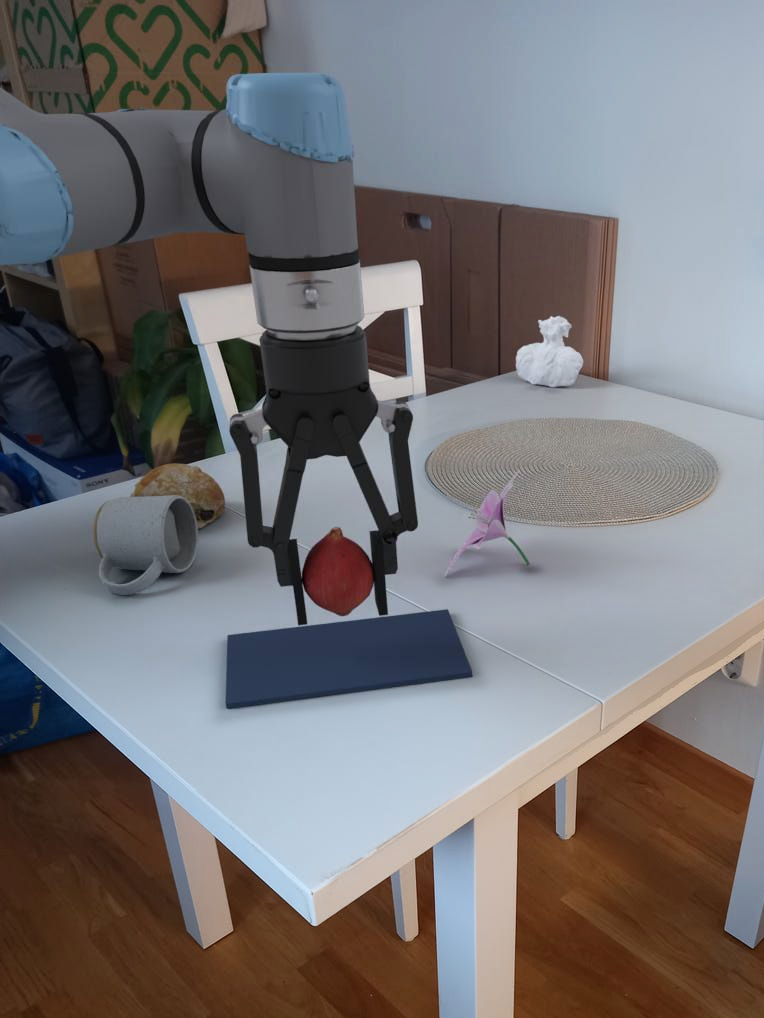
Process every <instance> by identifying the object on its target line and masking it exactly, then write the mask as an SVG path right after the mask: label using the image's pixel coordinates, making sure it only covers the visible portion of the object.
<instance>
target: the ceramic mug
mask: <svg viewBox="0 0 764 1018" xmlns="http://www.w3.org/2000/svg"><path fill="white" fill-rule="evenodd" d="M92 525H93V526H92V537H93V538H92V539H93V543H94V546H95V550H96V552H97V554H98V556H99V557H100V558H101V560H100V563H99V566H98V576H99V578H100V581H101V583H102V584H103V585H104V586H105V588H106V589H107V590H108V591H109V592H111V593H113V594H115V595H118V596H133V595H136V594H139V593H141V592H144V591H145V590H148V588H150V586H152V585H153V584H154V583H155V582H156V580H157V579H158V578H159V577H160V575H161V574H162V573H167V574H168V573H169V574H181V573H184V572H186V571H188V570H189V568H191V566H192V565H193V563H194V560H195V559H196V556H197V551H198V545H199V529H197V521H196V517H195V514H194V511H193V509H192V507H191V505H190V503H189V502H188V501H187V500H186V499H185V498H184V497H182V496H179V495H168V496H147V497H130V496H123V497H117V498H113V499H109V500H107V501H105V502H104V503H102V504H101V506H100V507H99V509H98V510H97V512H96V514H95V517H94V520H93V524H92ZM112 567H114V568H117V569H122V570H129V571H131V570H132V571H144V572H143V574H141V575H140V576H139V577H137V578H136V579H133V580H132V581H129V582H127V583H121V584H120V583H118V584H117V583H116V582H114V581H110V579H109V576H110V572H111V570H112Z"/></svg>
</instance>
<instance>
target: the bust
mask: <svg viewBox="0 0 764 1018" xmlns="http://www.w3.org/2000/svg"><path fill="white" fill-rule="evenodd" d="M537 323H538V328H539V329H540V330H539V332H540V333H541V335H542V337H543V341H542V342H534V343H529V344H526V345H523V346H522V347H520V348H519V349H518V350H517V352H516V356H515V370H516V373H517V375H518V377H519V378H520V379H521V380H524V381H526V382H528V383H530V384H531V385H541V386H548V387H550V388H557V387H571V386H573V385H574V384H575V382H576V380H577V377H578V375H579V373H580V371H581V369H582V368H583V366H584V359H583V357H582V354H581V353H580V352H578V351H576V350H575V348H573V347H571V346H566V345H565V342H564V339H563V337H565V338H569V332H570V329H572V327H573V326H572V324H571V323H570V322H569V321H568V320H567V318H565V317H563V316H561V315H556V316H555V317H554V316H552V315H551V316H549V318H548V319H544V320H542V319H538V321H537Z"/></svg>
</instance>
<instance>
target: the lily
mask: <svg viewBox="0 0 764 1018" xmlns="http://www.w3.org/2000/svg"><path fill="white" fill-rule="evenodd" d="M520 471H521V469H519V470H518V471H517V472H516V473H515V474H514V475H513V476H512V478H511V479H510V480H509V482H508V483H507V484H506V485H505V486H504V488H503V490H502V491H501V493H500V495H499V494H498V493H497V491H495V489H491V490H490V491H489V493H488V494H487V495H486V497H485V498H484V500H483V501H482V503H481V505H480V507H479V509H478V510H475V511H474V513H476V514H474V513H472V512H471V513H470V515H471V516H467V518H468V519H473V520H475V526H476V527H474V529H473V530H472V532H470V534H469V535H468V537H467V539H466V540H465V541H464V543H463V545H462V546H461V547H460V548H458V550H457V552H456V553H455V554H454V556H453V558H452V560H451V561H450V563H449V565H448V567H447V569H446V571H445V574H444V577H446V576H447V575H448V573H449V572H450V570H451V568H452V567H453V565H454V564H455V563H456V561H457V560H458V558H459V557H460V556H461V555H462V553H464V551H465V550H466V549H468V547H470V546H472V545H473V548H474V549H475V550H479V549H481V547H482V545H483V543H486V542H489V541H494V540H497V539H499V538H506V539H507V540H508V541H509V542H510V543H511V544H512V545H513V546H514V548H515V549H516V550H517V551H518V553H519V554H520V555H521V557H522V558H523V561H524V562H525V564H526V565H527V566H529V565H530V564H531V563H530V561H529V559H528V558H527V556H526V555H525V554H524V552H523V550H522V549H521V548H520V546H519V545H518V544H517V543H516V542H515V540H514V539H513V538H512V537H511V536H510V535H509V534H508V532H507V530H506V524H505V522H506V521H505V502H506V501H505V500H506V497H507V494H508V493H509V491H510V490H511V489H512V487H513V486H514V481H515V479H516V477H517V476H518V474H519V472H520Z"/></svg>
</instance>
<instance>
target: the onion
mask: <svg viewBox="0 0 764 1018" xmlns="http://www.w3.org/2000/svg"><path fill="white" fill-rule="evenodd" d="M301 576H302V584H303V591H304V592H305V594H306V595H307V596H308V597H309V599H310V600H311V601H312V602H313V603H314V604H315V605H316V606H318V607H319V608H321V609H323V610H325V611H328V612H330V613H332V614H335V615H336V616H339V617H346V616H349V615H350V614H352V612H353V611H354V610H355V609H357V608H358V607H359V606H360V605H362V603H364V602H365V601H366V599H367V598H368V597H369V596H370V595H371V593H372V590H373V589H374V569H373V565H372V559H370V556H369V555H368V553H366V551H365V550H364V549H363V548H362V547H361V545H360V544H358V543H357V542H356V541H354V540H352V539H350V538H349V537H346V536H344V533H343V529H342V528H341V527H339V526H334V527H333V528H331V529H330V531H329V532H327V534H325V535H324V536H323V537H322V538H321V539H320V540H318V541H317V542H316V543H314V545H313V546H312V547H311V548H310V550H309V551H308V553H307V555H306V557H305V559H304V563H303V567H302V569H301Z"/></svg>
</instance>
